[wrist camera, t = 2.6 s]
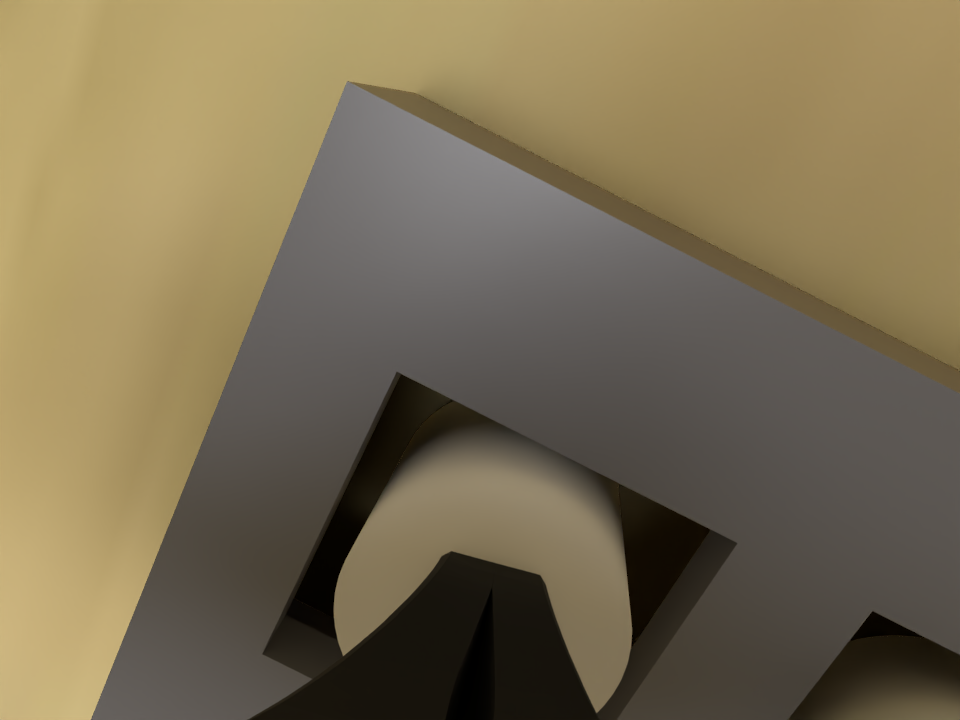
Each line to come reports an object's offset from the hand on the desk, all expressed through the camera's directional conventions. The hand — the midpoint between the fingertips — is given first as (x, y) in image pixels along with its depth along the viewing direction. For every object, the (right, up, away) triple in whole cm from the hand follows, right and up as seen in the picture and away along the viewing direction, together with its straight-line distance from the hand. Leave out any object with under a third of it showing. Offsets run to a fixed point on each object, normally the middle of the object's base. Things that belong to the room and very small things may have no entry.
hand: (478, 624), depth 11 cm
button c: (+1, +1, +4) cm, 4 cm away
